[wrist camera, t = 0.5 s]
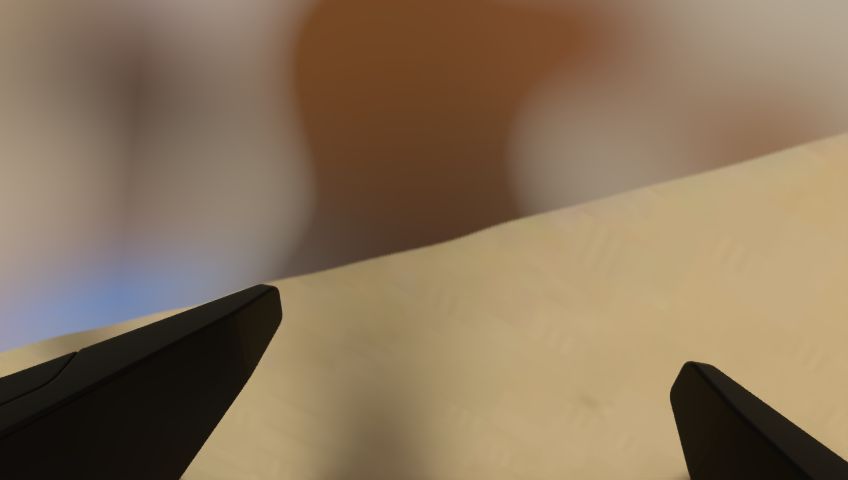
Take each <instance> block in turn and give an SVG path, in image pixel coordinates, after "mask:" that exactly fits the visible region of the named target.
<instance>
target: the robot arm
mask: <svg viewBox="0 0 848 480" xmlns="http://www.w3.org/2000/svg"><path fill="white" fill-rule="evenodd" d="M281 321H282V307H281V300H280V293H279V290H278V288H277V287H275V286H271V285H265V284H259V285H256V286H253V287H250V288H248V289H245V290H242V291H239V292H237V293H234V294H231V295H228V296H226V297H223V298H220V299H217V300H215V301H212V302H209V303H206V304H204V305H201V306H198V307H196V308H193V309H190V310H187V311H185V312H182V313H179V314H176V315H174V316H171V317H168V318H165V319H163V320H160V321H157V322H154V323H152V324H149V325H146V326H143V327H141V328H138V329H135V330H133V331H130V332H127V333H124V334H122V335H119V336H116V337H113V338H111V339H108V340H105V341H102V342H100V343H97V344H94V345H91V346H89V347H86V348H83V349H81V350H80V351H79V352H72V353H69V354H67V355H64V356H61V357H58V358H56V359H53V360H50V361H47V362H45V363H42V364H39V365H36V366H33V367H30V368H28V369H25V370H22V371H19V372H16V373H13V374H11V375H7V376H4V377H1V378H0V480H179V479H180V478H181V476H182V475H183V473H184V472H185V470H186V469H187V468H188V466H189V465H190V463H191V462H192V460H193V459H194V458H195V456H196V455H197V453H198V452H199V450H200V449H201V448H202V446H203V445H204V443H205V442H206V440H207V439H208V438H209V436H210V435H211V433H212V432H213V430H214V429H215V427H216V426H217V425H218V423H219V422H220V420H221V419H222V417H223V416H224V415H225V413H226V412H227V410H228V409H229V407H230V406H231V405H232V403H233V402H234V400H235V399H236V397H237V396H238V395H239V393H240V392H241V390H242V389H243V387H244V386H245V384H246V383H247V381H248V380H249V378H250V377H251V375H252V373H253V372H254V370H255V368H256V366H257V365H258V363H259V361H260V359H261V358H262V356H263V354H264V352H265V350H266V349H267V347H268V345H269V343H270V341H271V340H272V338H273V336H274V334H275V333H276V331H277V329H278V327H279V325H280V323H281ZM670 401H671V406H672V410H673V414H674V417H675V421H676V425H677V429H678V433H679V437H680V441H681V445H682V449H683V453H684V457H685V461H686V465H687V468H688V472H689V475H690V479H691V480H848V462H847V461H845V460H844V459H843V458H841V457H840V456H838V455H837V454H836V453H834V452H833V451H831V450H830V449H829V448H827V447H826V446H824V445H823V444H822V443H820V442H819V441H817V440H816V439H815V438H813V437H812V436H810V435H809V434H808V433H806V432H805V431H803V430H802V429H801V428H799V427H798V426H797V425H795V424H794V423H792V422H791V421H790V420H788V419H787V418H785V417H784V416H783V415H781V414H780V413H778V412H777V411H776V410H774V409H773V408H771V407H770V406H769V405H767V404H766V403H764V402H763V401H762V400H760V399H759V398H758V397H756V396H755V395H753V394H752V393H751V392H749V391H748V390H746V389H745V388H744V387H742V386H741V385H739V384H738V383H737V382H735V381H734V380H732V379H731V378H730V377H728V376H727V375H725V374H724V373H723V372H721V371H720V370H718V369H717V368H716V367H714V366H712V365H710V364H705V363H700V362H694V361H688V362H686V363H685V364H684V365H683V367H682V369H681V371H680V372H679V374H678V376H677V378H676V380H675V382H674V384H673V386H672V388H671V391H670Z"/></svg>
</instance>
